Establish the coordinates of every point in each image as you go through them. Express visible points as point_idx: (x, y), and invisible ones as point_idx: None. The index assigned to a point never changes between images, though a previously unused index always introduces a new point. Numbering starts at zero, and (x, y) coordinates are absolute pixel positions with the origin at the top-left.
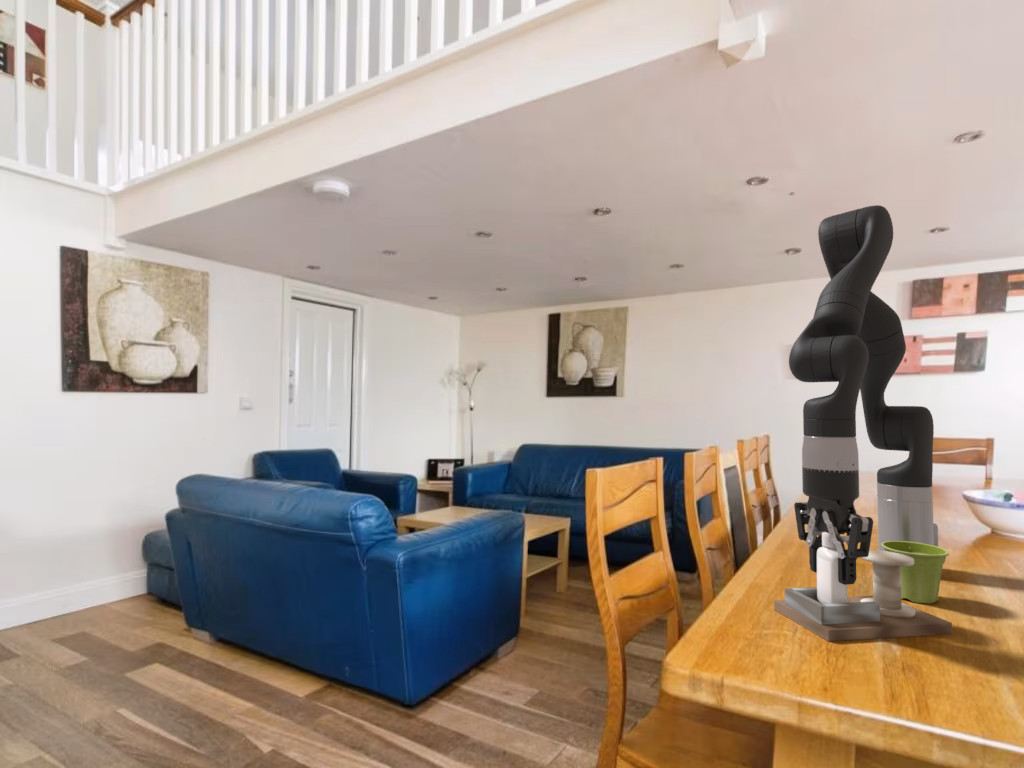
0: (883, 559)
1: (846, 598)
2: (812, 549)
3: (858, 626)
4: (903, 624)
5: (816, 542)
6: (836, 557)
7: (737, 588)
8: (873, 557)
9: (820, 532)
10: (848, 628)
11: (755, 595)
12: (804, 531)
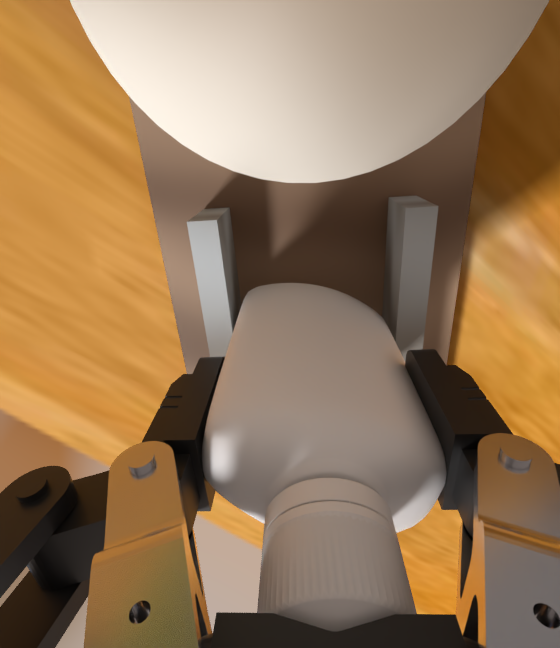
0: (434, 75)
1: (393, 338)
2: (205, 504)
3: (437, 308)
4: (467, 116)
5: (186, 524)
6: (429, 509)
7: (15, 401)
8: (350, 128)
9: (205, 619)
10: (444, 350)
11: (75, 384)
12: (68, 611)
